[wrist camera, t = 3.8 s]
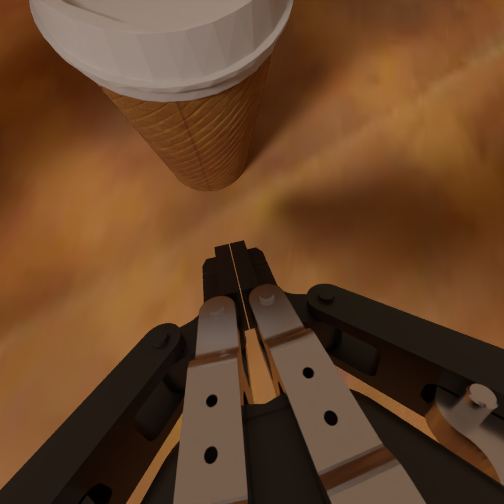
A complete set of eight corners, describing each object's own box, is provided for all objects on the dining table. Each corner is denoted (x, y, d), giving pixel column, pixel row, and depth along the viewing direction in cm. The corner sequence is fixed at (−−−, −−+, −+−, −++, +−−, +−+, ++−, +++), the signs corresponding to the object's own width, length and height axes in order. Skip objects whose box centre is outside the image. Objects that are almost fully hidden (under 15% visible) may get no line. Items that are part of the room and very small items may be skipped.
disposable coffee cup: (178, 91, 20) (87, -199, 8) (282, 127, 20) (338, -122, 8) (128, 186, 18) (-80, -18, 7) (241, 228, 18) (238, 93, 6)
